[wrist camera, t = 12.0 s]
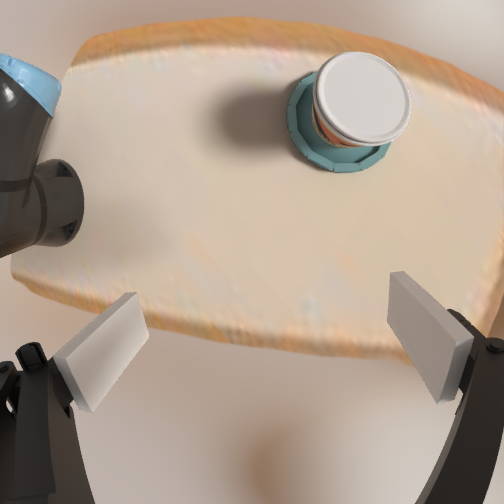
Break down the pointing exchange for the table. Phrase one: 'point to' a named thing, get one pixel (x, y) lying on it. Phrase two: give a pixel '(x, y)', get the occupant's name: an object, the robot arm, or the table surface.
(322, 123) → the coffee cup
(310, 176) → the table surface
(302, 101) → the saucer
